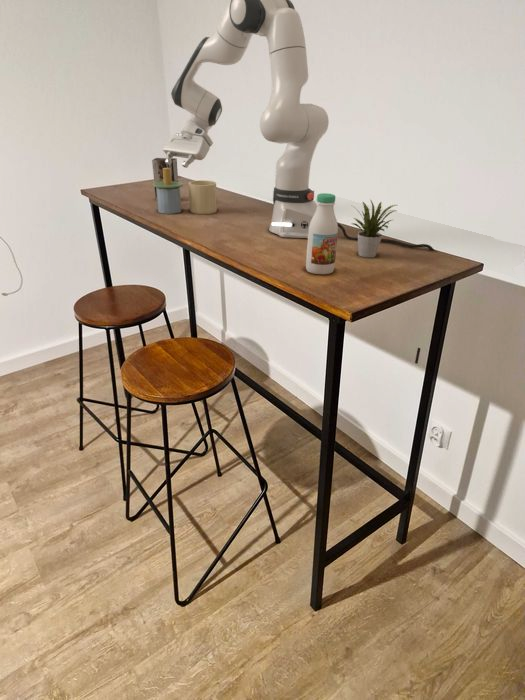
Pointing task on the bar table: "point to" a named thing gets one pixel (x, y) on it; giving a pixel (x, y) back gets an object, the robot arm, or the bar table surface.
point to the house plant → (371, 230)
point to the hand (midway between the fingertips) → (175, 165)
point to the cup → (169, 200)
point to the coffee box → (158, 170)
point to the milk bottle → (322, 237)
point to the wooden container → (202, 197)
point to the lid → (167, 181)
